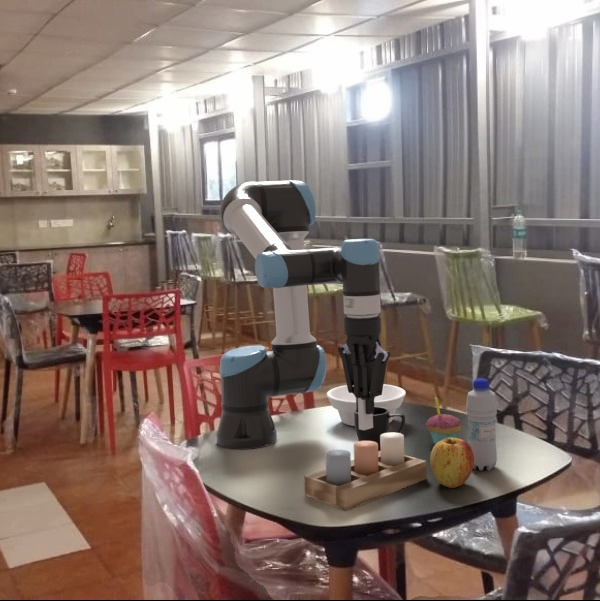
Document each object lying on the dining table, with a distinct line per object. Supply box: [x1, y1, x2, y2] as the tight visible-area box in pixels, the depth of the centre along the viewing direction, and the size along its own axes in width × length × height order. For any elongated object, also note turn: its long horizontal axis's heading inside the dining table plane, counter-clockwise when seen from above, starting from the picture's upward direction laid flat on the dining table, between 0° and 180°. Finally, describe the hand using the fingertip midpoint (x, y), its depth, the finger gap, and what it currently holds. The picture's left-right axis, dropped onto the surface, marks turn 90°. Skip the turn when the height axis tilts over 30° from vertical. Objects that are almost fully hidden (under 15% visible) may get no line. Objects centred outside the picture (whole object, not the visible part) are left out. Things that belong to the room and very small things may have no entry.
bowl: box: [326, 383, 407, 427], centre depth 219 cm, size 21×21×8 cm
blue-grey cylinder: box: [325, 449, 352, 486], centre depth 166 cm, size 5×5×6 cm
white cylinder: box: [380, 431, 405, 466], centre depth 176 cm, size 5×5×6 cm
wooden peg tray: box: [303, 451, 428, 511], centre depth 171 cm, size 12×24×4 cm, turn 131°
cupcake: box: [425, 394, 463, 445], centre depth 198 cm, size 9×8×12 cm
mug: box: [354, 406, 406, 451], centre depth 195 cm, size 8×12×10 cm
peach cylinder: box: [353, 441, 379, 476], centre depth 171 cm, size 5×5×6 cm
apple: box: [429, 437, 474, 489], centre depth 171 cm, size 9×9×10 cm
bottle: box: [465, 377, 498, 471], centre depth 180 cm, size 7×7×20 cm
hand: (366, 428), depth 170 cm, fingers closed
